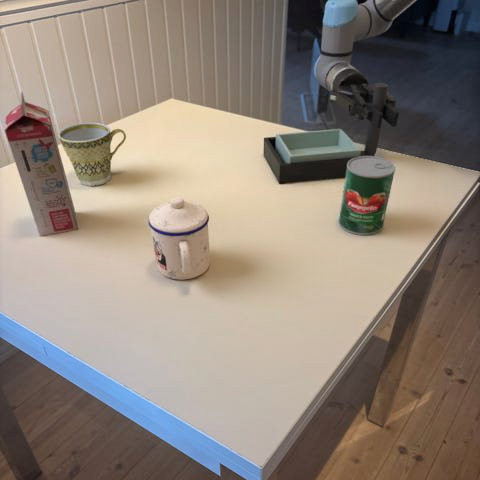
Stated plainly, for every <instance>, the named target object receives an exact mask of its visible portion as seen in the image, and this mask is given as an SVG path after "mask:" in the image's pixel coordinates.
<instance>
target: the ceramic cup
mask: <svg viewBox="0 0 480 480" xmlns="http://www.w3.org/2000/svg"><path fill="white" fill-rule="evenodd" d="M119 133H121V134H123V138H122V140H121V141H120V142H119V144H117V146H116V147H115V149H114V150H113V151H111V150H112V149H111V145H112V141H113V138H114V136H115V135H117V134H119ZM57 134H58V135H57V136H58V139H59V142H60V144H61V146H62V148H63V150H64V153H65V154H66V156H67V157H68V159H69V161H70V164H71V165H72V168H73V170H74V172H75V175H76V177H77V180H78V182H79V183H80V185H82V186H87V185H88V187H94V186H95V185H96V186H100V185H104V184H106V183H108V181H110V180H111V179H112V169H111V168H112V159H113V156H114V155H115V154H116V153H117V151H118V150H119V148H120V147H121V146H122V145H123V144H125V142H126V139H127V135H126V132H125V131H124V130H123V129H121V128H116V129H115V128H114V129H113V130H112V131H111V128H110V126H108V125H106V124H103V123H100V122H82V123H81V122H80V123H75V124H71V125H69V126H66V127H64V128H62V129H61V130H59V132H58V133H57Z"/></svg>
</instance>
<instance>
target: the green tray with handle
mask: <svg viewBox="0 0 480 480" xmlns="http://www.w3.org/2000/svg"><path fill="white" fill-rule="evenodd" d="M388 88H389V84H387V83H383V82H379V83H375V84H374V94H373V100H372V105H373V106H374V107H375V108H377V109H378V110H379V111H380V112H381V113H382V114H383V112H384V106H385V101H386V95H387V91H388ZM366 131H367V132H366V137H365V143H364V148H363V150H362V149H361V148H360V147H359V146H358V145H357V144H356V143H355V142H354V141H353V140H352V139H351V138H350V137H349V136H348V135H347V133H345V131H344V130H343V129H342V128H333V129H323V130H311V131H310V130H309V131H299V132H298V131H297V132H286V133H285V132H284V133H276V134H275V137H276V146H275V151H276V153H277V155H278V156H279V158H280V160H281V161H282V163H283V164H286V163H297V162H308V161H318V160H329V159H340V158H351V157H360V156H375V157H376V154H377V150H378V144H379V139H380V133H381V128H376V127H375V126H374V125H373V124H372V123H371V122H370V121H369V120H368V126H367V130H366Z"/></svg>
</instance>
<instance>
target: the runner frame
mask: <svg viewBox="0 0 480 480" xmlns="http://www.w3.org/2000/svg"><path fill="white" fill-rule="evenodd" d="M275 146H276V136H268V137H267V136H266V137H263V157H264V159H265V161H266V162H267V165H268V166H269V168H270V170H271V172H272V174H273V175H274V177H275V179H276V181H277V182H278V184H279V185H285V184H295V183H306V182H317V181H325V180H336V178H337V179H345V177H346V170H347V163H348V162H349V160H351V159H353V158H356V157H351V158H340V159H329V160H318V161H308V162H297V163H286V164H283V163H282V161H281V160H280V158H279V156H278V155H277V153H276V151H275Z"/></svg>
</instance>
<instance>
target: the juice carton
mask: <svg viewBox="0 0 480 480" xmlns="http://www.w3.org/2000/svg"><path fill="white" fill-rule="evenodd" d="M4 133H5V135H6V139H7V141H8V146H9V147H10V150H11V153H12V154H11V155H12V157H13V159H14V162H15V166H16V169H17V172H18V174H19V178H20V181H21V184H22V187H23V189H24V193H25V196H26V199H27V202H28V204H29V208H30V211H31V213H32V216H33V220H34V222H35V223H34V224H35V225H36V229H37V232H38V235H39V237H43V236H49V235H54V234H61V233H67V232H71V231H77V230H79V226H78V219H77V213H76V209H75V204H74V201H73V198H72V194H71V190H70V186H69V182H68V179H67V175H66V172H65V171H66V170H65V168H64V164H63V161H62V156H61V153H60V149H59V146H58V141H57V137H56V133H55V131H54V126H53V123H52V119H51V115H50V111H49V110H47V109H46V108H43V107H40V106H38V105H35V104H32V103H30V102H27V101H25V97H24V93H23V91H20V104H19V105H18V106H17V105H16V107H15V108H13V109H12V110H10V111H9V112H8V113H7V114H6V115H5V122H4Z"/></svg>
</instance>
